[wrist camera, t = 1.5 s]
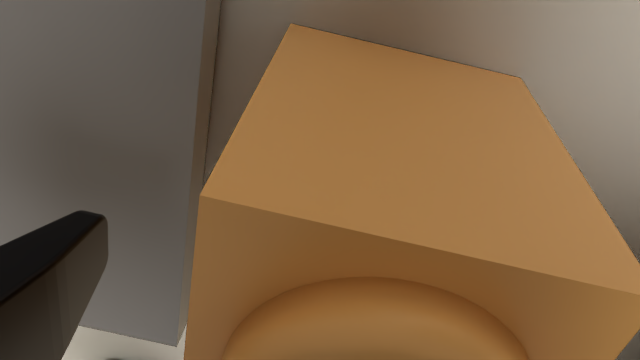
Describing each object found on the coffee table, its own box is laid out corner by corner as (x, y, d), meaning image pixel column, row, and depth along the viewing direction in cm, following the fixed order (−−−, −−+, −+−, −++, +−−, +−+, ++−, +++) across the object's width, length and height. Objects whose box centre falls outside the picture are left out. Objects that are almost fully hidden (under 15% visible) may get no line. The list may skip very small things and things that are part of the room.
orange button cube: (520, 78, 11) (714, 380, 5) (442, 253, 14) (498, 596, 7) (290, 23, 11) (165, 259, 4) (257, 211, 13) (150, 524, 7)
